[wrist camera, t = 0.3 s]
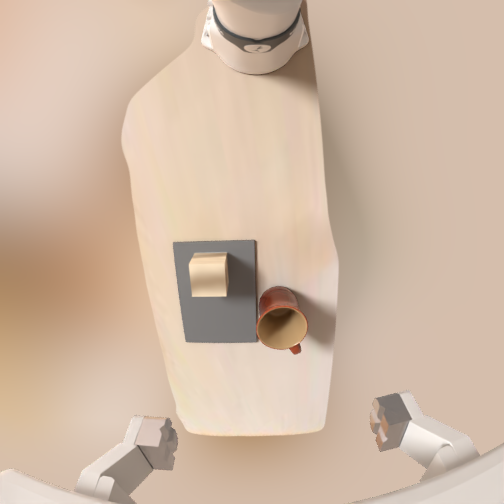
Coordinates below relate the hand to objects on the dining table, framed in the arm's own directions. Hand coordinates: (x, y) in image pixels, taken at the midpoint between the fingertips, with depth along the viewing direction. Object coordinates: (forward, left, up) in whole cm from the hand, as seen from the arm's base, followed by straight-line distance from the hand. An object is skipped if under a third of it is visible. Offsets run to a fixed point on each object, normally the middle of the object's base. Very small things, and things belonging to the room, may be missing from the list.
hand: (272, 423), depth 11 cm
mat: (+17, -8, -46) cm, 50 cm away
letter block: (+11, -8, -45) cm, 47 cm away
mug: (+20, +5, -46) cm, 51 cm away
